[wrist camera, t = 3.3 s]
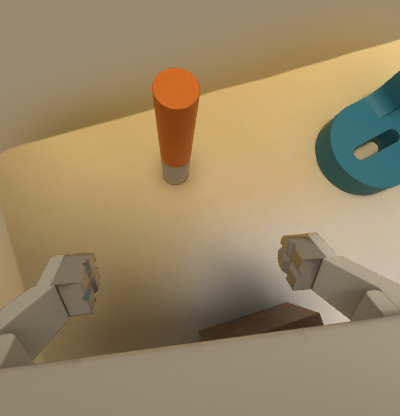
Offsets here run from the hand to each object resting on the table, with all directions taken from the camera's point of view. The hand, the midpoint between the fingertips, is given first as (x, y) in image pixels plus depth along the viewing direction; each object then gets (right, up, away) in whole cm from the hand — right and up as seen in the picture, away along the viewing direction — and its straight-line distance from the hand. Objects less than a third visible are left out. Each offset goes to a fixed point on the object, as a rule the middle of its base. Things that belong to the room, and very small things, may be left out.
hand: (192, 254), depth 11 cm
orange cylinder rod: (-2, +6, +17) cm, 18 cm away
